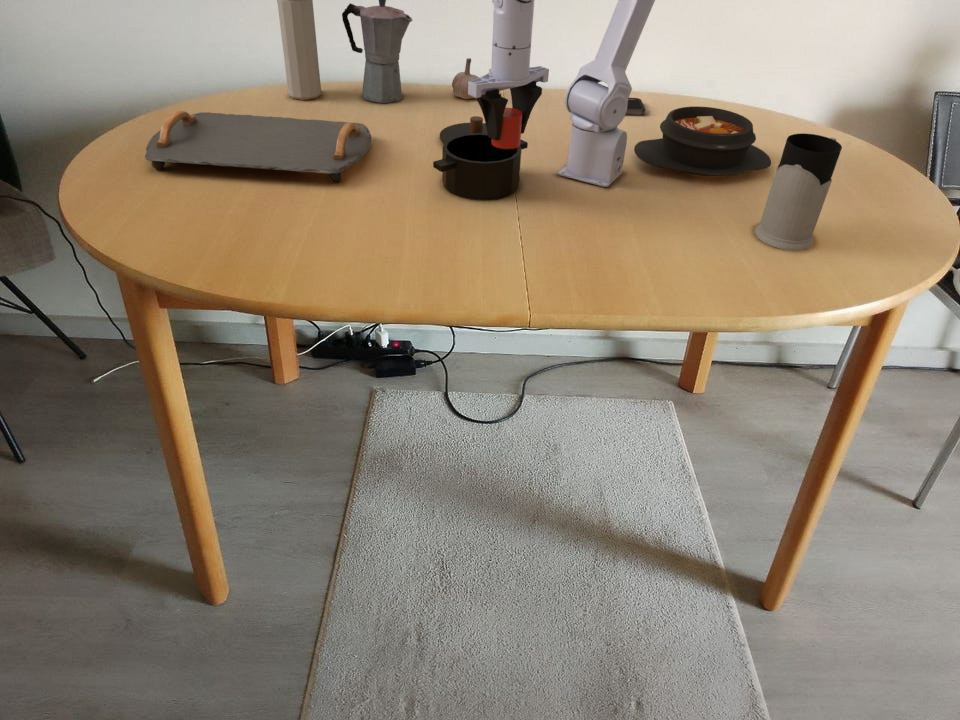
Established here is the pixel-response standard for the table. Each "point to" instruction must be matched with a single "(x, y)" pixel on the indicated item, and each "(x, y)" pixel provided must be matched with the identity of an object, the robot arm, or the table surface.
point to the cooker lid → (464, 129)
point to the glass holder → (798, 191)
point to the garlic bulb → (463, 82)
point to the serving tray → (259, 143)
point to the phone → (635, 107)
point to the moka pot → (380, 49)
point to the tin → (510, 130)
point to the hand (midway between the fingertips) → (506, 134)
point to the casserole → (704, 143)
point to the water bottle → (300, 48)
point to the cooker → (479, 167)
